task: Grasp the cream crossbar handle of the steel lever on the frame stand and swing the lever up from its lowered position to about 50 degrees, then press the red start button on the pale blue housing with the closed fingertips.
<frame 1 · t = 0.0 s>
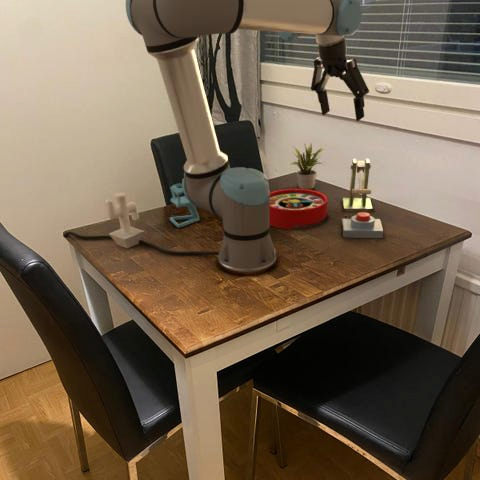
hand: (342, 115, 148), 28 cm above the table, tool tilted 20°, fingers open, 13 cm apart
start button: (363, 217, 141), point 4 cm above the table, slide at 0.1 cm
lever: (361, 178, 152), point 11 cm above the table, hinge at -25.0°
frame stand: (356, 206, 161), on the table
house plant: (308, 191, 177), on the table
button box: (361, 231, 144), on the table
chair: (186, 222, 156), on the table
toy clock: (294, 217, 156), on the table
figurine: (128, 244, 143), on the table
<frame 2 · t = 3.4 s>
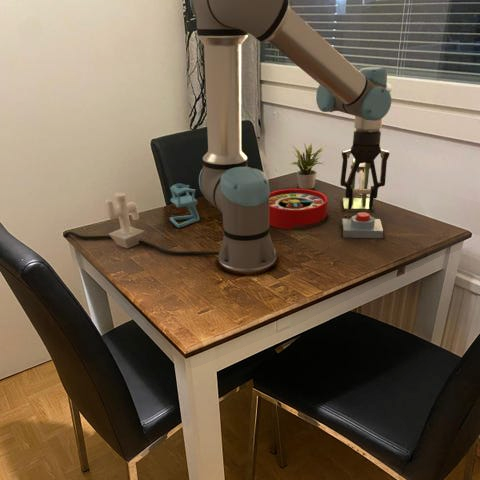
hand: (359, 208, 151), 3 cm above the table, tool pointing down, fingers closed on lever, 5 cm apart
lever: (361, 178, 152), point 11 cm above the table, hinge at -25.0°, touching gripper
everything else where it was.
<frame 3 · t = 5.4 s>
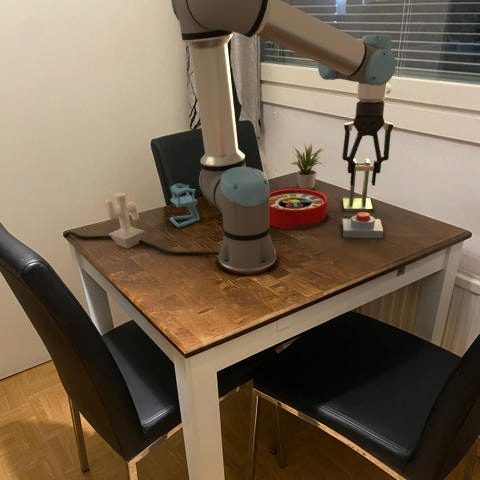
hand: (362, 183, 147), 11 cm above the table, tool pointing down, fingers closed on lever, 5 cm apart
lever: (362, 167, 149), point 14 cm above the table, hinge at 13.3°, touching gripper
everything else where it was.
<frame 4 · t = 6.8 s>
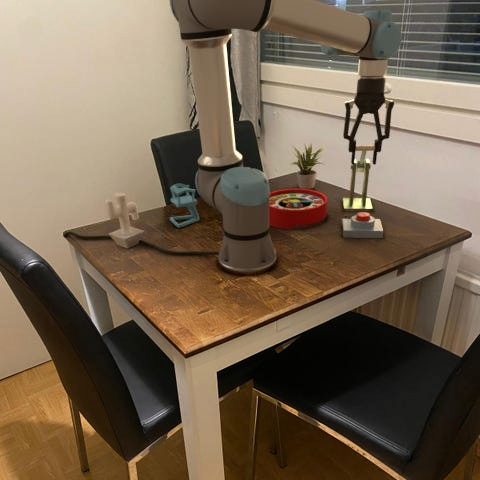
hand: (363, 163, 147), 16 cm above the table, tool pointing down, fingers closed on lever, 5 cm apart
lever: (362, 158, 149), point 17 cm above the table, hinge at 43.6°, touching gripper
everything else where it was.
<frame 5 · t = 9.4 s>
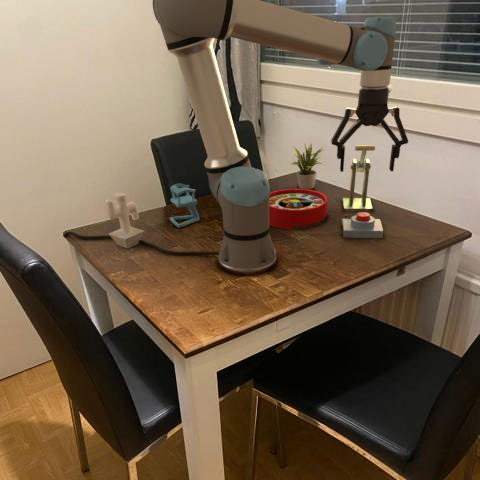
hand: (366, 170, 138), 17 cm above the table, tool pointing down, fingers open, 13 cm apart
lever: (362, 158, 149), point 17 cm above the table, hinge at 43.9°
everything else where it was.
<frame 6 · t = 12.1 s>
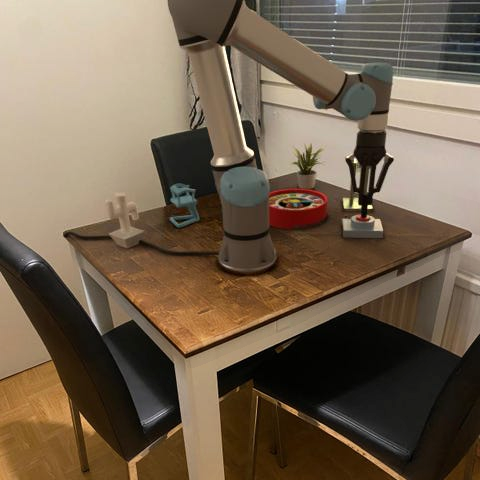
hand: (363, 215, 141), 5 cm above the table, tool pointing down, fingers closed
start button: (362, 219, 142), point 4 cm above the table, slide at -0.6 cm, touching gripper
everything else where it was.
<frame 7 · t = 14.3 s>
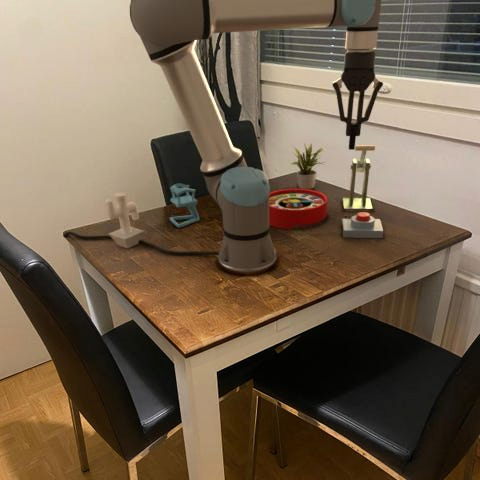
hand: (351, 148, 135), 23 cm above the table, tool pointing down, fingers closed
start button: (363, 217, 141), point 4 cm above the table, slide at 0.1 cm
everything else where it was.
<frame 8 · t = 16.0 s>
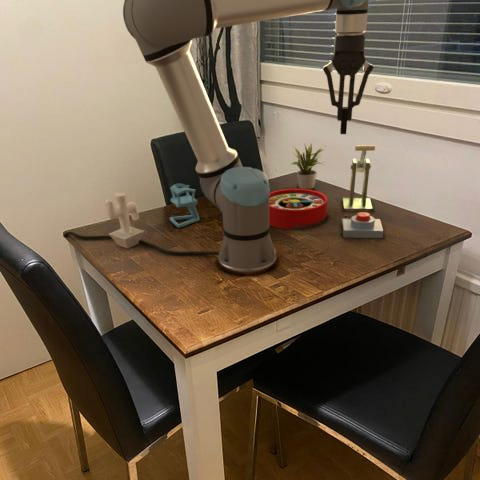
hand: (343, 133, 136), 26 cm above the table, tool pointing down, fingers closed
nothing on the table moved.
at the end: lever at +44° (first picture: -25°); start button pushed in 1.0 cm at the most during the clip, back to where it started at the end; start button slide at 0.1 cm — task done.
